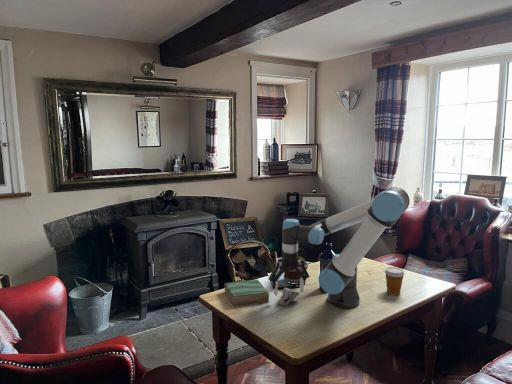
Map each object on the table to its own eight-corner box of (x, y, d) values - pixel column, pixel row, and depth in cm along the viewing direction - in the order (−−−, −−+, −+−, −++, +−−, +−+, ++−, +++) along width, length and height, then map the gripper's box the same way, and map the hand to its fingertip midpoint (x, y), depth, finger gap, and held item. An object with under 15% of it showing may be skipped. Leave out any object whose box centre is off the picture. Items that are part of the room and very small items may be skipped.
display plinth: (268, 302, 184) (268, 292, 183) (232, 307, 179) (232, 297, 178) (258, 287, 201) (257, 278, 200) (224, 292, 196) (224, 282, 195)
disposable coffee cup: (393, 297, 188) (394, 274, 187) (379, 290, 197) (380, 268, 195) (407, 294, 192) (408, 271, 190) (393, 287, 201) (394, 265, 199)
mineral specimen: (283, 310, 187) (296, 311, 179) (272, 302, 183) (285, 303, 175) (290, 292, 191) (304, 293, 183) (279, 284, 188) (293, 284, 180)
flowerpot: (296, 274, 220) (296, 241, 217) (313, 282, 207) (314, 247, 204) (275, 279, 213) (275, 244, 210) (292, 288, 200) (292, 252, 197)
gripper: (310, 246, 188) (308, 287, 191) (262, 250, 181) (262, 292, 184) (317, 251, 181) (315, 293, 184) (267, 255, 174) (266, 299, 177)
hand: (288, 293), depth 184 cm, fingers open, 13 cm apart
